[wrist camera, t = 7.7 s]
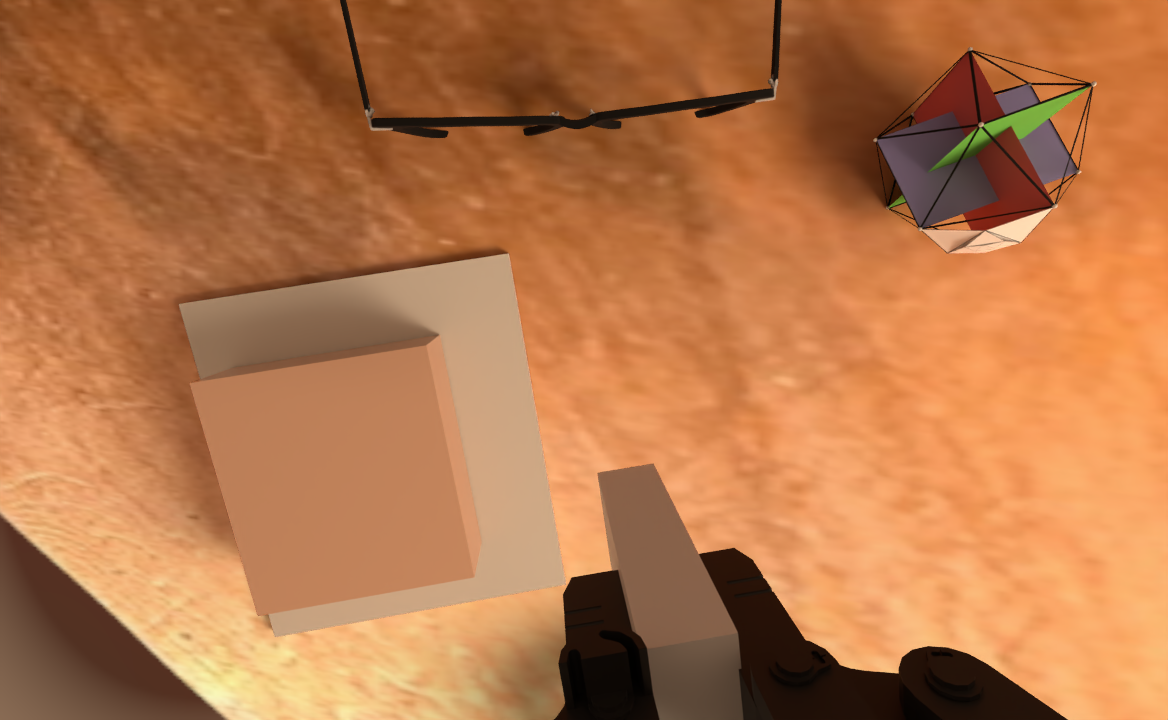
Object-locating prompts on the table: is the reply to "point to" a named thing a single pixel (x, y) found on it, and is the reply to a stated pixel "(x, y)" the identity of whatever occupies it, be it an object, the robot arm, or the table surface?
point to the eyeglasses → (553, 119)
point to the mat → (480, 393)
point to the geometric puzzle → (980, 158)
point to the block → (342, 473)
